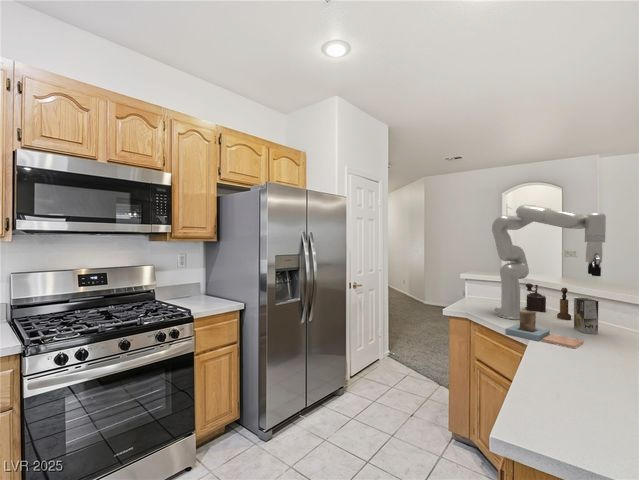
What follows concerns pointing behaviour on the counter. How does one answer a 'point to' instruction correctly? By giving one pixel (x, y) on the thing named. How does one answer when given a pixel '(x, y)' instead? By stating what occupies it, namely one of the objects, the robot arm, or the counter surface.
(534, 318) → the walnut block
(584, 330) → the coffee box
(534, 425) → the counter surface
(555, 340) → the terracotta tile
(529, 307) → the dark brown boxy piece
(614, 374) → the counter surface
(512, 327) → the pocket plate
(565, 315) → the wooden chess piece
